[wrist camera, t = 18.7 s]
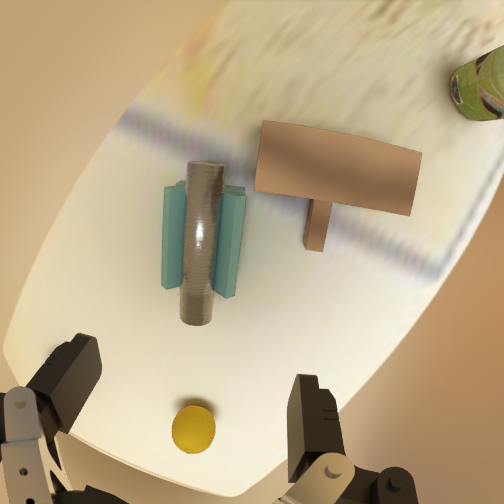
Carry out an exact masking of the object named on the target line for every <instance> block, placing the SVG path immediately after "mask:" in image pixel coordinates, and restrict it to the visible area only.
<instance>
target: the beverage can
mask: <svg viewBox="0 0 504 504" xmlns="http://www.w3.org/2000/svg"><path fill="white" fill-rule="evenodd" d="M450 88H451V94H452V97H453V100H454V102H455V104H456V106H457V107H458V109H459V110H460V111H461V112H462V113H463V114H464V115H465V116H467V117H468V118H470V119H472V120H475V121H488V120H498V119H504V45H503V46H501V47H499V48H497V49H495V50H493V51H491V52H489V53H487V54H485V55H483V56H481V57H479V58H477V59H475V60H473V61H471V62H469V63H467V64H466V65H464V66H462V67H460V68H458V69H457V70H456V71H455V72H454V73H453V75H452V78H451V82H450Z"/></svg>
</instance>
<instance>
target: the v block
mask: <svg viewBox="0 0 504 504" xmlns="http://www.w3.org/2000/svg"><path fill="white" fill-rule="evenodd" d="M244 190H245V188H242V187H234V186H226V185H224V186H223V195H222V205H221V215H220V225H219V236H218V247H217V258H216V269H215V281H214V290H215V291H216V292H217V293H219V294H220V295H222V296H223V297H224V298H229V297H232V296H235V288H236V279H237V270H238V262H239V253H240V245H241V236H242V228H243V219H244V211H245V203H246V196H245V195H244ZM185 191H186V181H180V182H178V183H176V186H174V187H165V188H164V206H163V229H162V276H161V285H162V286H163V287H164V288H165V289H166V290H167V289H171V288H175V287H179V286H181V258H182V237H183V220H184V205H185Z"/></svg>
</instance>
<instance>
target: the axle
mask: <svg viewBox="0 0 504 504" xmlns="http://www.w3.org/2000/svg"><path fill="white" fill-rule="evenodd" d="M225 167H226V165H224V164H219V163H212V162H196V161H195V162H188V167H187V179H186V191H185V205H184V220H183V237H182V258H181V286H180V319H181V320H182V321H183V322H184V323H186V324H188V325H192V326H202V325H205V324H208V323H209V322H210V321H211V319H212V307H213V294H214V281H215V269H216V258H217V247H218V236H219V225H220V215H221V205H222V195H223V186H224V176H225Z"/></svg>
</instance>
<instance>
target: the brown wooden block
mask: <svg viewBox="0 0 504 504" xmlns="http://www.w3.org/2000/svg"><path fill="white" fill-rule="evenodd" d="M421 157H422V153H421V152H418V151H414V150H410V149H407V148H403V147H399V146H396V145H392V144H388V143H384V142H380V141H375V140H371V139H367V138H362V137H358V136H353V135H349V134H344V133H339V132H334V131H328V130H323V129H318V128H312V127H306V126H300V125H293V124H287V123H280V122H273V121H265V120H263V123H262V131H261V139H260V146H259V154H258V162H257V170H256V178H255V185H254V191H260V192H268V193H275V194H282V195H289V196H296V197H303V198H309V199H311V202H310V208H309V214H308V219H307V225H306V231H305V236H304V242H303V243H304V246H305V249H306V250H312V251H319V252H323V248H324V243H325V238H326V233H327V228H328V223H329V218H330V212H331V207H332V202H334V203H340V204H346V205H352V206H358V207H363V208H369V209H374V210H380V211H385V212H390V213H395V214H400V215H405V216H410V214H411V209H412V205H413V200H414V195H415V190H416V185H417V180H418V175H419V169H420V163H421Z"/></svg>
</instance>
